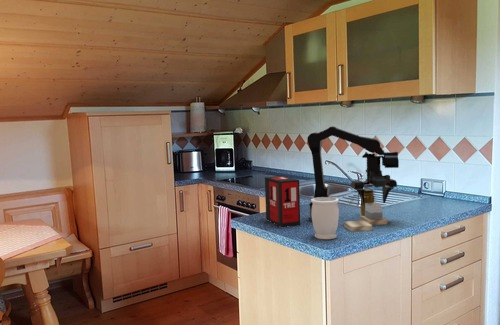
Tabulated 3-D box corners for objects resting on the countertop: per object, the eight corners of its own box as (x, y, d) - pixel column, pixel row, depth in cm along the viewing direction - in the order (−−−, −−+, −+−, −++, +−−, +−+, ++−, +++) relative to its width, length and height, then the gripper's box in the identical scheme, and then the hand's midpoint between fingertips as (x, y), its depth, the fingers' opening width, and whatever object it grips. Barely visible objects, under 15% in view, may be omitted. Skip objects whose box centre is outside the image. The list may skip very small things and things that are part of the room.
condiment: (358, 214, 210) (357, 189, 208) (375, 213, 210) (375, 188, 209) (363, 217, 202) (363, 191, 201) (381, 216, 203) (381, 190, 202)
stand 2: (367, 225, 188) (367, 220, 188) (359, 220, 197) (359, 216, 197) (387, 224, 189) (387, 219, 189) (379, 219, 198) (379, 214, 197)
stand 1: (350, 231, 179) (350, 226, 179) (343, 226, 188) (343, 221, 188) (372, 230, 180) (372, 225, 180) (364, 224, 189) (364, 220, 189)
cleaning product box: (300, 225, 192) (299, 179, 190) (281, 227, 189) (280, 181, 187) (283, 217, 207) (282, 175, 205) (266, 220, 204) (264, 177, 202)
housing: (370, 220, 189) (370, 206, 188) (364, 216, 196) (364, 203, 195) (382, 219, 189) (382, 205, 189) (376, 215, 196) (375, 202, 196)
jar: (309, 239, 170) (308, 201, 168) (315, 232, 179) (314, 196, 178) (336, 241, 166) (336, 202, 164) (341, 234, 176) (340, 197, 174)
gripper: (359, 171, 181) (359, 208, 183) (402, 168, 183) (402, 205, 185) (350, 168, 192) (350, 203, 194) (391, 166, 194) (391, 201, 196)
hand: (373, 203), depth 192 cm, fingers open, 9 cm apart
